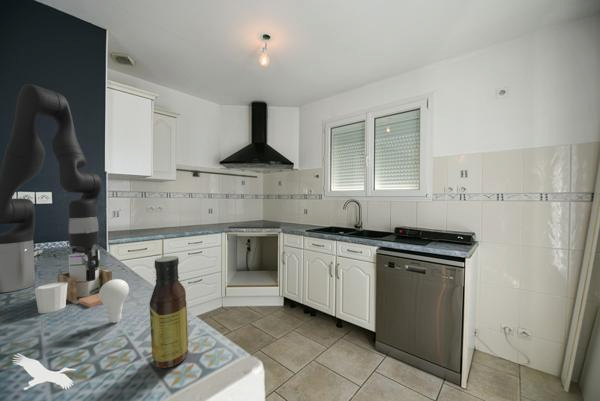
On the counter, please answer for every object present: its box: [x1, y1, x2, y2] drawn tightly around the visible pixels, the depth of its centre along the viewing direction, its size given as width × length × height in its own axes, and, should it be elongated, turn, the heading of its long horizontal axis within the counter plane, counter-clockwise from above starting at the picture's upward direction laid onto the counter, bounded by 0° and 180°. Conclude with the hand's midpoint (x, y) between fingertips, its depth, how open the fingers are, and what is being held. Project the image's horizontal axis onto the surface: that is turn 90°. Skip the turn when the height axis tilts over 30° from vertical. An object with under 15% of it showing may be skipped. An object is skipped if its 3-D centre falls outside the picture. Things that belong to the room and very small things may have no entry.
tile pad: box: [78, 292, 104, 309], centre depth 77 cm, size 8×8×1 cm
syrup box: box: [68, 249, 101, 298], centre depth 82 cm, size 6×6×14 cm
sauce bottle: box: [149, 255, 189, 369], centre depth 47 cm, size 6×6×20 cm
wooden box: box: [57, 268, 113, 304], centre depth 82 cm, size 13×10×7 cm
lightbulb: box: [98, 278, 130, 324], centre depth 62 cm, size 6×6×11 cm
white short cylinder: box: [34, 281, 68, 314], centre depth 71 cm, size 7×7×7 cm
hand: (85, 278), depth 82 cm, fingers closed on syrup box, 7 cm apart
